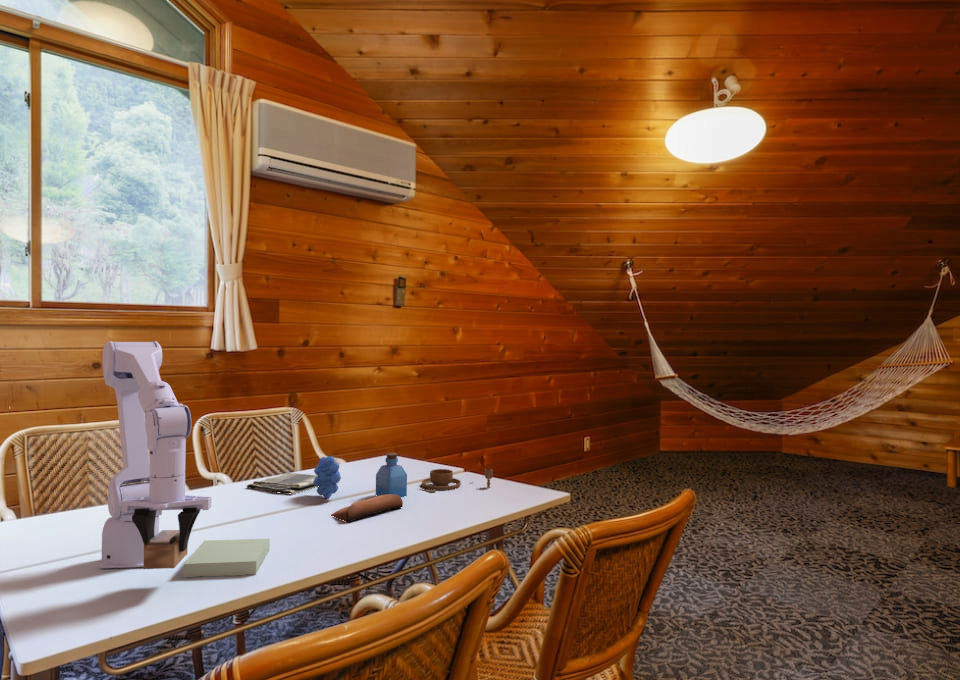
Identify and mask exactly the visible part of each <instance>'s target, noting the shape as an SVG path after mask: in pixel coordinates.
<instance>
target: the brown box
mask: <svg viewBox="0 0 960 680" xmlns="http://www.w3.org/2000/svg"><path fill="white" fill-rule="evenodd" d="M179 539H180V537H179V538H178V539H177V540H176V541H175V542H174V543H173V544H158V545H150V541H149V542H148V543H147V544H146V545H144V567H143V570H159V569H175V568H176V567H177V566H178V565H179V564H180V562H182V560H183V559H184V558H185V557H186V556H187V555H188V545H187V549H186V550H185V551H183V552H180V551H179Z"/></svg>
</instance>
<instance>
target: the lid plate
mask: <svg viewBox="0 0 960 680" xmlns="http://www.w3.org/2000/svg"><path fill="white" fill-rule="evenodd" d="M179 537H180V530H179V529H165V530H164V529H163V530H161V531H159V533H158V534H157V535H156V536H154V537H153V538H152V539H151V540H150V545H158V544H173V543H174V542H175V541H176V540H177V539H178V538H179Z"/></svg>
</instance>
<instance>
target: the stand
mask: <svg viewBox="0 0 960 680" xmlns="http://www.w3.org/2000/svg"><path fill="white" fill-rule="evenodd" d="M270 540H271V539H270V538H246V539H245V538H244V539H243V538H242V539H214V540H203V541H202V542H201V544H200V545H199V546H198V548H197V549H195V551H194V552H192V554H191V555H190V556H189V557H188V559H186V561H185V562H184V563H183V578H191V577H190V576H203V577H220V576H221V577H224V576H225V577H226V576H227V577H228V576H246V574H253V575H257V574H256V573H258V571H259V570H260V569H261V567H260V566H262V564H264V562H265V559H266V558H267V556H268V554H269V553H270ZM266 555H267V556H266ZM265 557H266V558H265Z"/></svg>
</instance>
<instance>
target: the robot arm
mask: <svg viewBox="0 0 960 680" xmlns="http://www.w3.org/2000/svg"><path fill="white" fill-rule="evenodd" d="M162 364H163V349H162V346H161V344H160V343H159V342H158V341H157V340H156V341H154V340H153V341H112V340H108V341H107V342H106V343H105V344H104V346H103V350H102V372H103V379H104V381H105V382H104V384H105V385H106V386H109V387H111V388H113V389H114V393H115V398H116V404H117V414H118V423H119V424H118V425H119V435H120V447H121V448H120V449H121V457H122V459H121V460H122V467H123V468H122V469H120V471H119V472H117V473H116V474H114V475H113V477H111V478H110V480H109V482H108V486H107V487H108V493H107V507H108V508H107V509H108V513H109V516H111V517H108V518H107V519H106V521H105V522H104V524H103V527H102V531H101V532H102V533H101V564H100V565H99V568H100V569H119V568H121V569H122V568H144V545H146V544H147V543H148V542H149V541H150V540H151V539H152V538H153V537H154V536H156V535H157V534H158V533H160V530H159V529H160V516H162V515H163V511H174V510H175V511H180V512H179V513H178V514H177V520H178V526H179V527H178V530H180V539H179V551H180V552H183V551H185V550H186V549H187V550H188V547H187V545H188V543H189V540H190V535H191V534H192V533H191V532H192V529H193V527H194V525H195V522H196V520H197V518H198V516H199V514H200V512H201V510H202V511H209V510H210V509H211V508H212V496H200V495H199V496H198V495H187V494H186V459H187V458H186V453H187V452H186V451H187V450H186V449H187V447H186V443H187V438H189V437H190V435H191V432H192V427H193V426H192V425H193V424H192V422H193V421H192V415H191V411H190V408H189V407H188V405H186V404H185V405H184V404H183V403H180V402H178V400H177V398H176V396H175V393H174V391H173V389H172V387H171V385H170V384H169V383H167V382H165V381H163V380H162V378H161V375H160V368H161V366H162ZM181 510H182V511H181Z"/></svg>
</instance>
